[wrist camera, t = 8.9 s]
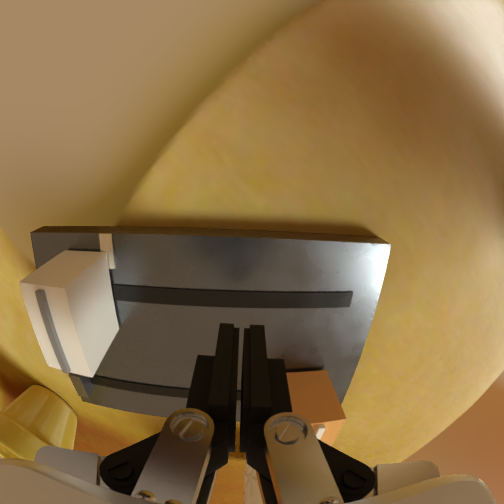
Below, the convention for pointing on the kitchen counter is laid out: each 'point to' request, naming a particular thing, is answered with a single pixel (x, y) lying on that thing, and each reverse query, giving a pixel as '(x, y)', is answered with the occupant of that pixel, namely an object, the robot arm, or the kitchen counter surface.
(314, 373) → the block
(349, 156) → the kitchen counter surface
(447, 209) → the kitchen counter surface
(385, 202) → the kitchen counter surface
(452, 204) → the kitchen counter surface
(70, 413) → the plant pot
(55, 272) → the fader
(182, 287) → the console board
